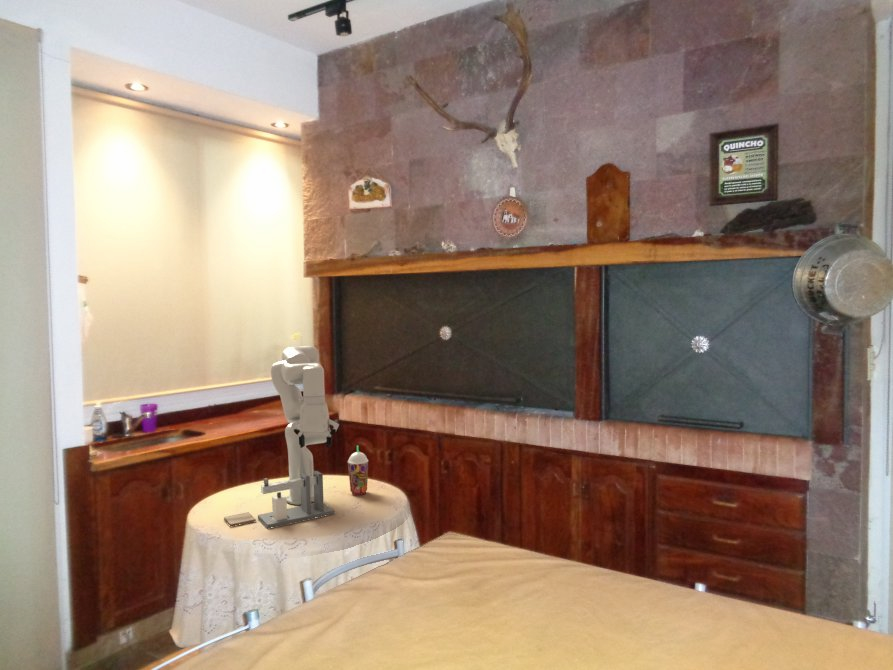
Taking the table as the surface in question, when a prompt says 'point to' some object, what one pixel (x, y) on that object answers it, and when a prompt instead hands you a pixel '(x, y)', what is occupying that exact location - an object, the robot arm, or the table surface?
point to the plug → (279, 507)
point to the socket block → (302, 505)
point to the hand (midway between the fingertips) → (315, 446)
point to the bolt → (286, 484)
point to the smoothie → (358, 472)
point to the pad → (239, 519)
